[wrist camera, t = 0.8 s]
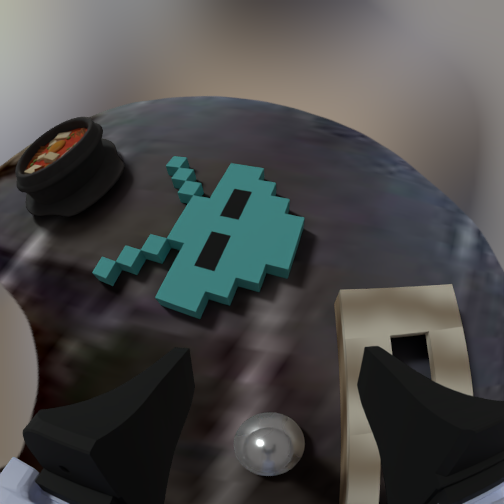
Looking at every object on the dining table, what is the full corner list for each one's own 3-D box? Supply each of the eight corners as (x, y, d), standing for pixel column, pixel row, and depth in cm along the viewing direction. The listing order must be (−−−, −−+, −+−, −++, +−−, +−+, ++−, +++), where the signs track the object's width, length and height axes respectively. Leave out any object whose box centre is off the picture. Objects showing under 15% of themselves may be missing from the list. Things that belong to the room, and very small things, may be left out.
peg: (302, 473, 19) (314, 490, 13) (234, 472, 19) (218, 488, 13) (303, 412, 22) (315, 405, 16) (237, 412, 22) (222, 405, 16)
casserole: (154, 163, 42) (138, 117, 35) (65, 250, 34) (32, 209, 27) (80, 138, 51) (66, 106, 44) (15, 198, 42) (-6, 167, 35)
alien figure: (101, 282, 31) (267, 341, 26) (92, 272, 29) (266, 334, 24) (177, 167, 41) (314, 191, 37) (173, 156, 40) (316, 178, 35)
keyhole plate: (455, 498, 14) (472, 501, 12) (337, 529, 15) (344, 540, 13) (439, 297, 26) (451, 284, 24) (334, 304, 27) (340, 289, 25)
